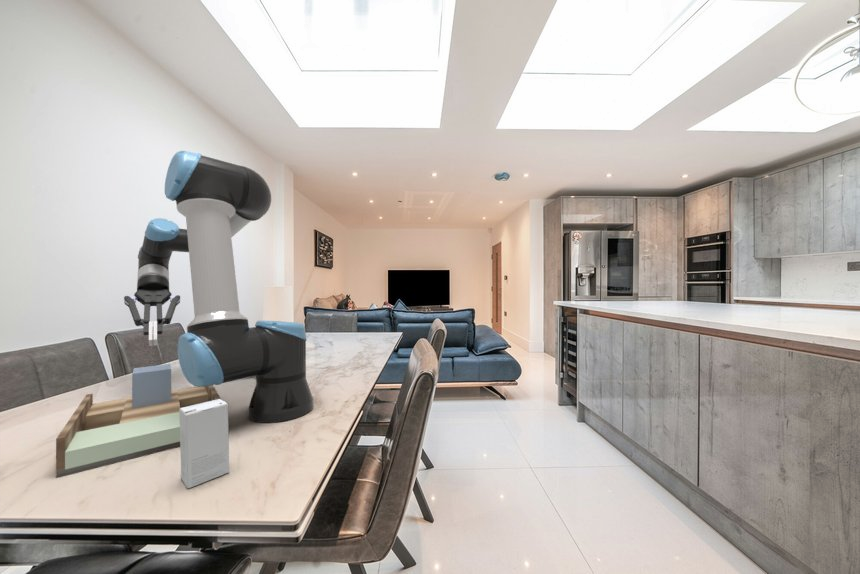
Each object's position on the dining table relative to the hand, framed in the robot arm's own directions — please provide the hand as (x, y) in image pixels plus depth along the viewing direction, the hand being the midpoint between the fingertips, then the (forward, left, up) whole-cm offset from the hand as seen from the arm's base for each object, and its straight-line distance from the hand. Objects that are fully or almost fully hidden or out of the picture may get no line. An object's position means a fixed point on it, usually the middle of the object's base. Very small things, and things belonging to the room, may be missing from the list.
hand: (152, 342), depth 88 cm
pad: (-20, +20, -17) cm, 33 cm away
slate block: (-7, +7, -13) cm, 17 cm away
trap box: (-13, +13, -17) cm, 25 cm away
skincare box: (-40, +30, -17) cm, 53 cm away
